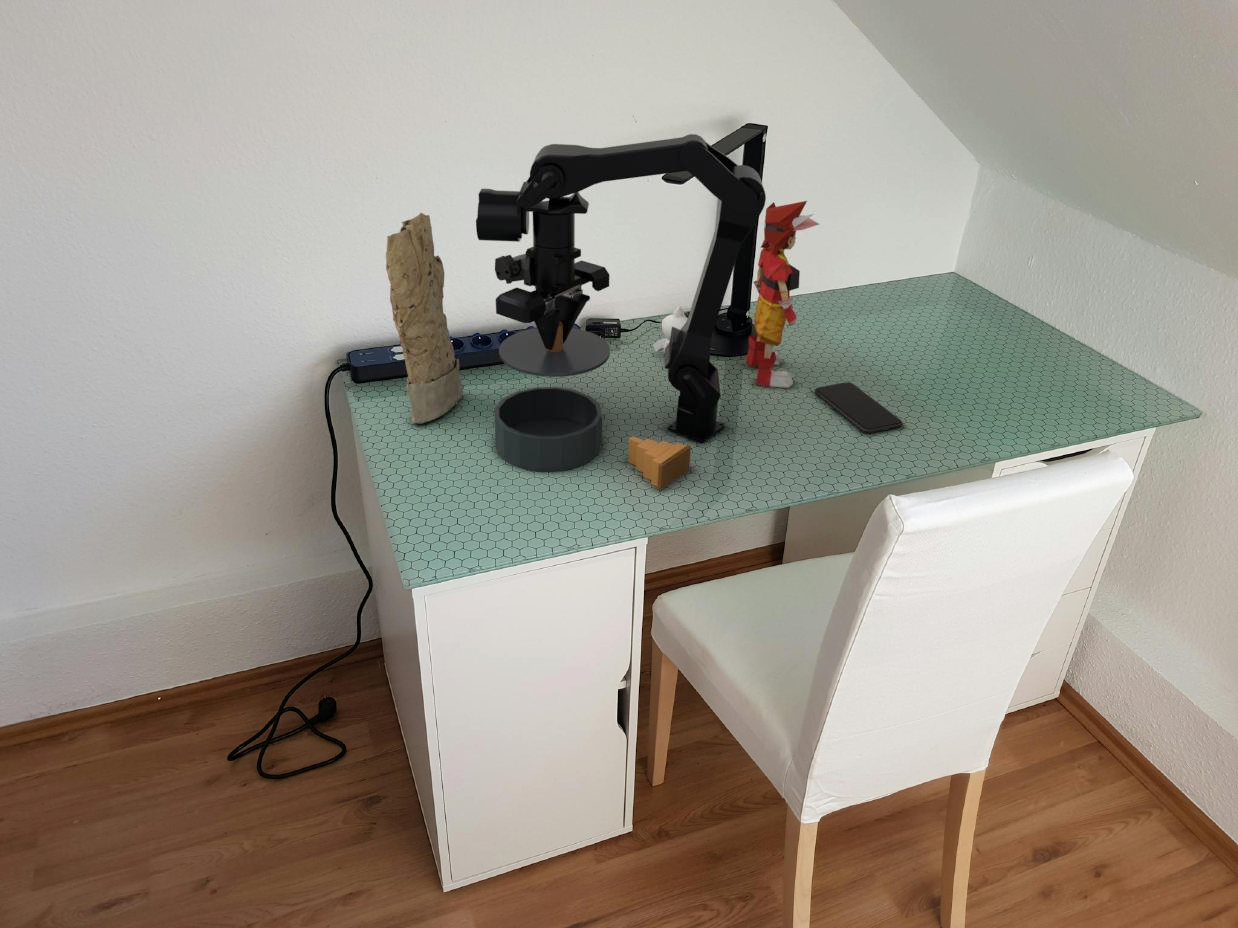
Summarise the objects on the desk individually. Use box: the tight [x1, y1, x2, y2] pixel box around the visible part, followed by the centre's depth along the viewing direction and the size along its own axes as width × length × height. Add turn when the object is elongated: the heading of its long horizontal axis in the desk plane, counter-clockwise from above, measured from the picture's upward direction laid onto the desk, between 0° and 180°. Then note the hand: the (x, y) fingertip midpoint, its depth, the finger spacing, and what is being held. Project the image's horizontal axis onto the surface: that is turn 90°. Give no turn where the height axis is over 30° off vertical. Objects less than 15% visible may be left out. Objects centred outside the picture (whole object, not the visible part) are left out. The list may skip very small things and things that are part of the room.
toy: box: [744, 200, 820, 389], centre depth 159 cm, size 12×9×30 cm
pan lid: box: [498, 322, 611, 378], centre depth 143 cm, size 16×16×5 cm
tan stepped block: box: [627, 435, 692, 492], centre depth 138 cm, size 8×7×4 cm
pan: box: [493, 386, 603, 473], centre depth 143 cm, size 15×15×6 cm
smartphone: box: [814, 381, 904, 434], centre depth 156 cm, size 7×1×15 cm
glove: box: [385, 212, 464, 424], centre depth 147 cm, size 14×10×30 cm
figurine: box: [652, 305, 688, 353], centre depth 166 cm, size 12×5×11 cm, turn 33°
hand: (554, 345), depth 143 cm, fingers closed on pan lid, 2 cm apart
